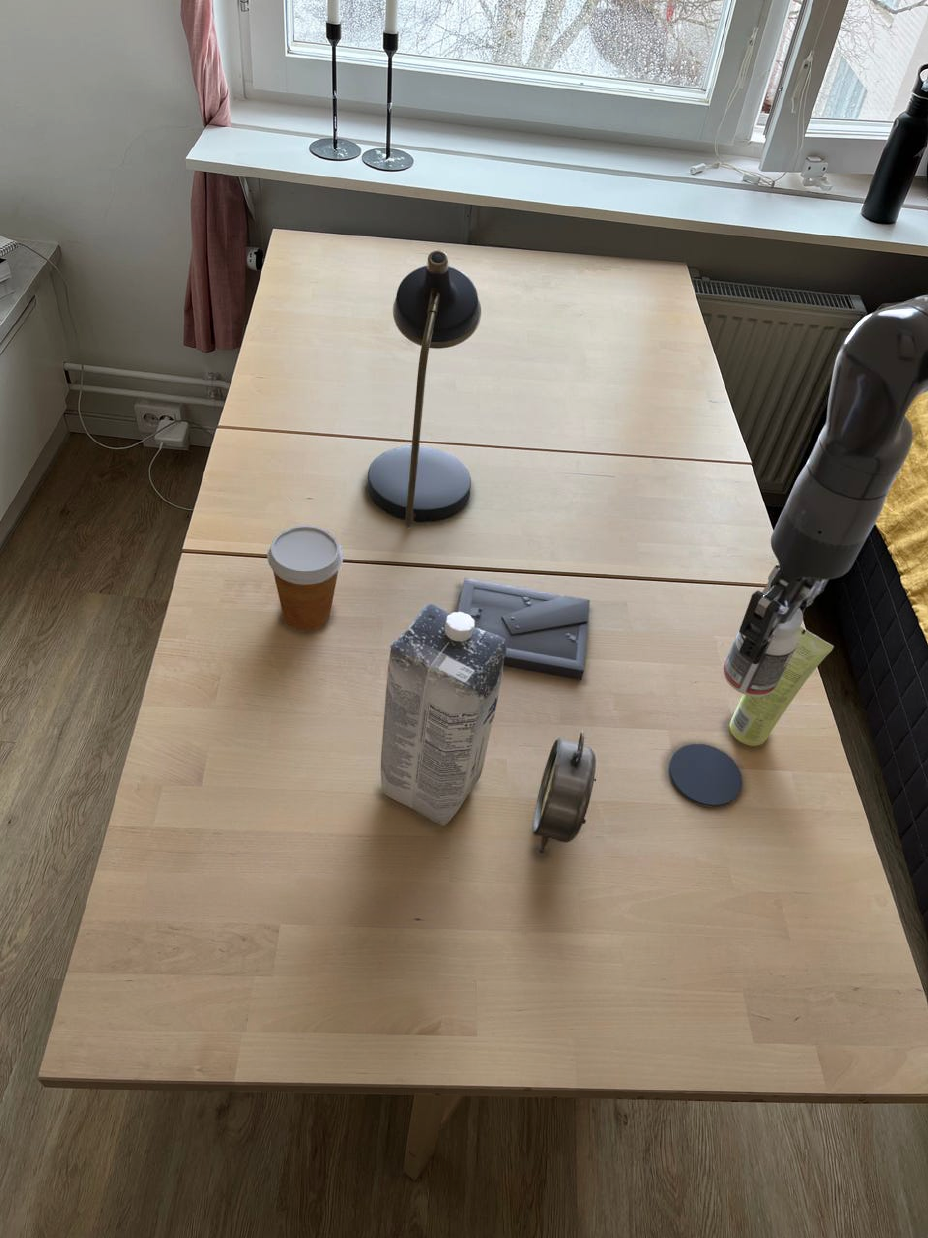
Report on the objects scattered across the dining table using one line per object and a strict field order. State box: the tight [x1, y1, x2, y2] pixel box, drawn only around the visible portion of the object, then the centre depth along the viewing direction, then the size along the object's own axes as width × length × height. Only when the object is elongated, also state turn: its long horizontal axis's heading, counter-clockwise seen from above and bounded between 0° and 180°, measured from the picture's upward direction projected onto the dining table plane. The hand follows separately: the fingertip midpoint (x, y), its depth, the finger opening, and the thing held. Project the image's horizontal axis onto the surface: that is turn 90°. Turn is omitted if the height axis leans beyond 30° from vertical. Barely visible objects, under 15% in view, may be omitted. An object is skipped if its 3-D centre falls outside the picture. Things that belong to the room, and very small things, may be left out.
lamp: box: [366, 250, 482, 529], centre depth 136 cm, size 16×22×38 cm
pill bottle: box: [722, 604, 804, 697], centre depth 98 cm, size 6×6×10 cm
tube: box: [729, 625, 835, 747], centre depth 117 cm, size 6×5×20 cm
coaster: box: [668, 743, 743, 808], centre depth 118 cm, size 9×9×1 cm
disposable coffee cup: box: [266, 524, 344, 631], centre depth 126 cm, size 10×10×12 cm
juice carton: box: [380, 603, 507, 827], centre depth 103 cm, size 9×10×27 cm
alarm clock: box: [532, 730, 597, 854], centre depth 106 cm, size 11×5×16 cm, turn 168°
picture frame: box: [456, 577, 591, 681], centre depth 131 cm, size 13×2×18 cm
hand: (766, 642), depth 97 cm, fingers closed on pill bottle, 5 cm apart
